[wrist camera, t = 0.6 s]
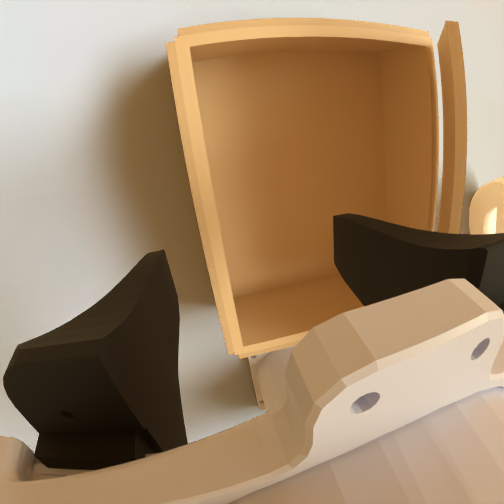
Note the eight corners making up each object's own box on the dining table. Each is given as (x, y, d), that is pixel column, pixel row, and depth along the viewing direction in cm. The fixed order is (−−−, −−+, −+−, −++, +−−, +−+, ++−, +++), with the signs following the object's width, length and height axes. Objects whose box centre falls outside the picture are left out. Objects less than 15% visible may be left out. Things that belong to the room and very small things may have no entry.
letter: (469, 325, 35) (514, 372, 26) (458, 333, 35) (503, 382, 26) (480, 164, 24) (561, 198, 16) (467, 169, 24) (550, 206, 15)
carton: (383, 268, 27) (421, 305, 21) (219, 307, 25) (230, 360, 20) (377, 41, 18) (430, 32, 13) (170, 52, 16) (164, 31, 11)
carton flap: (426, 298, 21) (433, 299, 21) (417, 369, 16) (425, 370, 15) (437, 44, 13) (445, 45, 13) (445, 20, 8) (457, 22, 8)
